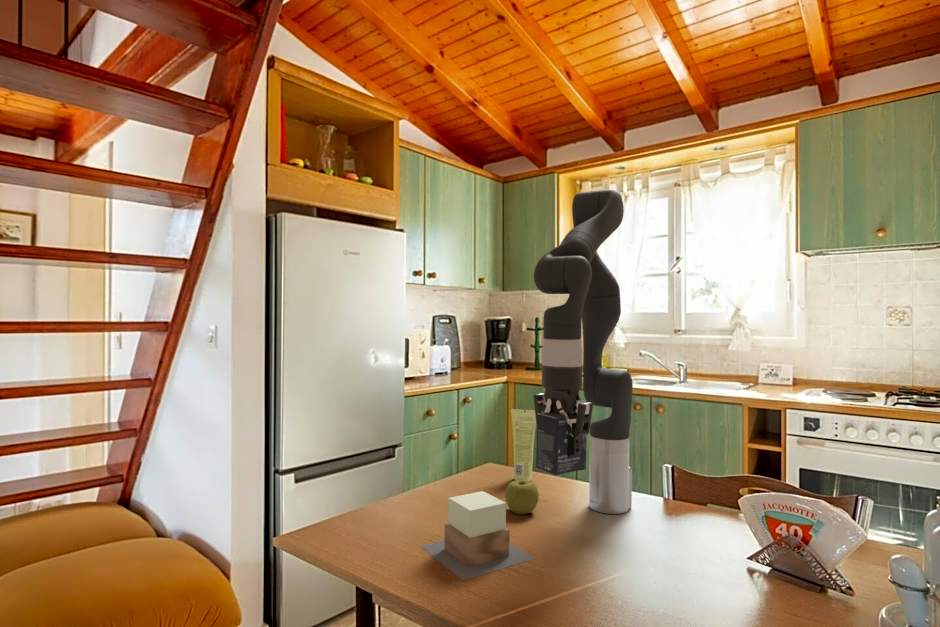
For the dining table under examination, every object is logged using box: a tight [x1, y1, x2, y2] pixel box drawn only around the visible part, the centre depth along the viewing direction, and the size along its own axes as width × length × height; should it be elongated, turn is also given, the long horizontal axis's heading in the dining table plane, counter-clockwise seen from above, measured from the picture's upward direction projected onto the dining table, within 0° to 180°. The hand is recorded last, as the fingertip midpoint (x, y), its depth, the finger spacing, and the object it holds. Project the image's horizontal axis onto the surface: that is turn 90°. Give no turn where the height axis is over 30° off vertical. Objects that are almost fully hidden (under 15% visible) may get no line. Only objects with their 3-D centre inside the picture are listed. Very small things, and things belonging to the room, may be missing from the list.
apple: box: [504, 480, 539, 515], centre depth 128 cm, size 8×8×7 cm
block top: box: [447, 490, 507, 538], centre depth 106 cm, size 8×8×5 cm
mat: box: [420, 539, 536, 581], centre depth 106 cm, size 16×16×1 cm
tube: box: [510, 408, 537, 482], centre depth 153 cm, size 6×5×20 cm
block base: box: [444, 522, 510, 567], centre depth 106 cm, size 9×9×5 cm
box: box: [535, 412, 588, 477], centre depth 103 cm, size 8×6×11 cm
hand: (561, 452), depth 103 cm, fingers closed on box, 5 cm apart
